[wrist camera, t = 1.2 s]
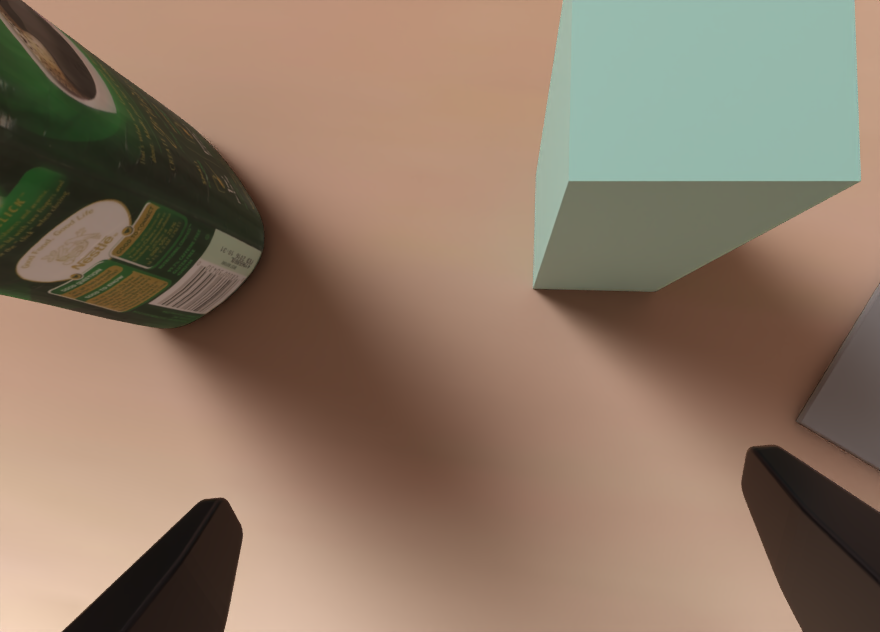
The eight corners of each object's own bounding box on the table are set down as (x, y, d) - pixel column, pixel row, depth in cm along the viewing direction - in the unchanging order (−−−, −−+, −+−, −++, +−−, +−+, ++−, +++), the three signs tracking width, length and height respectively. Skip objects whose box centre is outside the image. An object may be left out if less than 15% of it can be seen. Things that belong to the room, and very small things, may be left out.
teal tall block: (657, 291, 22) (866, 180, 9) (532, 288, 23) (568, 180, 10) (658, 174, 23) (857, -83, 10) (536, 175, 23) (573, -67, 10)
